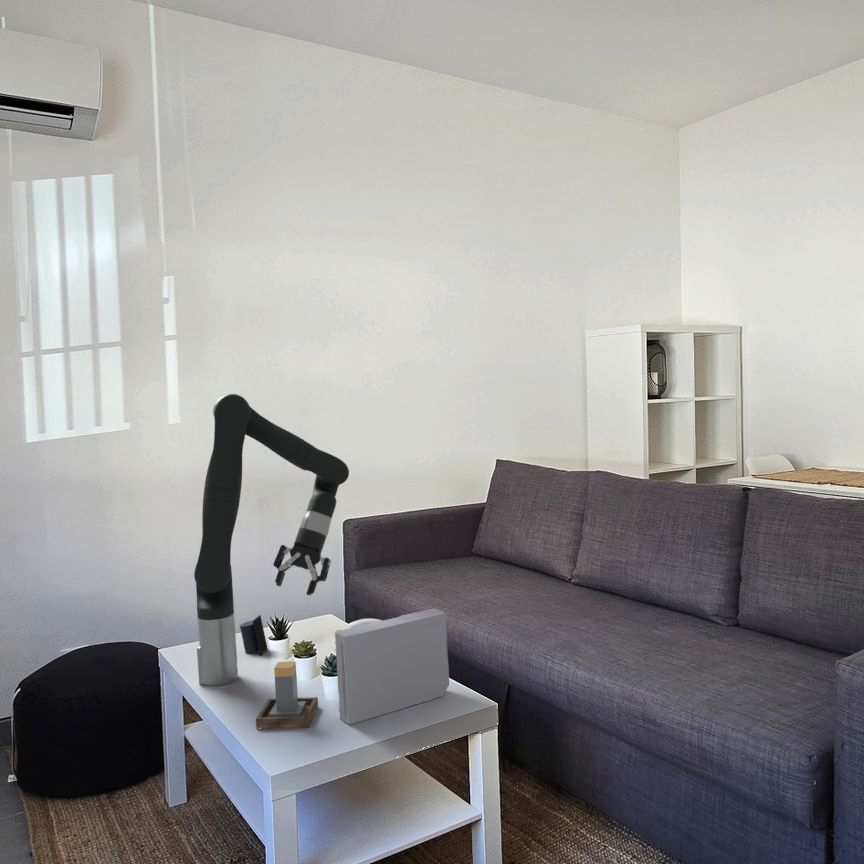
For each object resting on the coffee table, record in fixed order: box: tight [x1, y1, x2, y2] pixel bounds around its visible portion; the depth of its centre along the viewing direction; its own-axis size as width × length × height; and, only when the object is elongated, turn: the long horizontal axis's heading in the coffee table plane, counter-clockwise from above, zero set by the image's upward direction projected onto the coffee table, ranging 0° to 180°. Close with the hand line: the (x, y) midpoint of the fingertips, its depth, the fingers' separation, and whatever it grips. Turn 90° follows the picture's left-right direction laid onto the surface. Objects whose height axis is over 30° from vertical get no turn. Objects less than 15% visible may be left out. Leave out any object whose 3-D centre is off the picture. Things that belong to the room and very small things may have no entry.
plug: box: [269, 660, 306, 717], centre depth 180 cm, size 7×7×12 cm
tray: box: [255, 696, 319, 730], centre depth 180 cm, size 12×12×2 cm
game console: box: [334, 608, 450, 726], centre depth 184 cm, size 6×27×20 cm, turn 123°
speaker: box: [239, 615, 268, 657], centre depth 230 cm, size 8×6×10 cm
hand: (293, 590), depth 206 cm, fingers open, 8 cm apart
